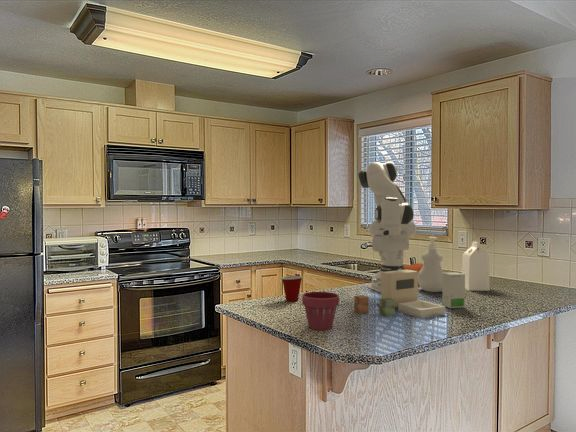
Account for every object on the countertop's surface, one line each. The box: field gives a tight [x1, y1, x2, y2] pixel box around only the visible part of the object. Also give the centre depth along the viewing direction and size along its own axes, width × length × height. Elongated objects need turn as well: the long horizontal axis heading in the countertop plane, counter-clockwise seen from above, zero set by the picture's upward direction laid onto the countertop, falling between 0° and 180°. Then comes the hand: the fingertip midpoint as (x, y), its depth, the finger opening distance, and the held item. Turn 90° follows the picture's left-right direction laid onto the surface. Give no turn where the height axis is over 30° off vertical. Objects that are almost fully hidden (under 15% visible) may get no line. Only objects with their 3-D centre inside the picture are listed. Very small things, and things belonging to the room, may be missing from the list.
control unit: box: [376, 270, 419, 311], centre depth 215 cm, size 10×18×16 cm, turn 118°
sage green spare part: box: [378, 298, 396, 318], centre depth 199 cm, size 4×4×7 cm
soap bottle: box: [418, 236, 445, 293], centre depth 250 cm, size 17×12×29 cm
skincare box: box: [441, 271, 466, 309], centre depth 215 cm, size 8×7×16 cm
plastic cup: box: [280, 275, 303, 303], centre depth 228 cm, size 11×11×12 cm
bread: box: [404, 263, 424, 286], centre depth 277 cm, size 16×27×11 cm, turn 132°
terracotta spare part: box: [353, 294, 370, 315], centre depth 205 cm, size 4×4×7 cm
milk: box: [461, 241, 491, 292], centre depth 258 cm, size 12×12×26 cm
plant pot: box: [301, 291, 340, 331], centre depth 180 cm, size 14×14×13 cm
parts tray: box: [397, 299, 446, 319], centre depth 203 cm, size 14×14×4 cm
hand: (391, 260), depth 220 cm, fingers open, 8 cm apart
